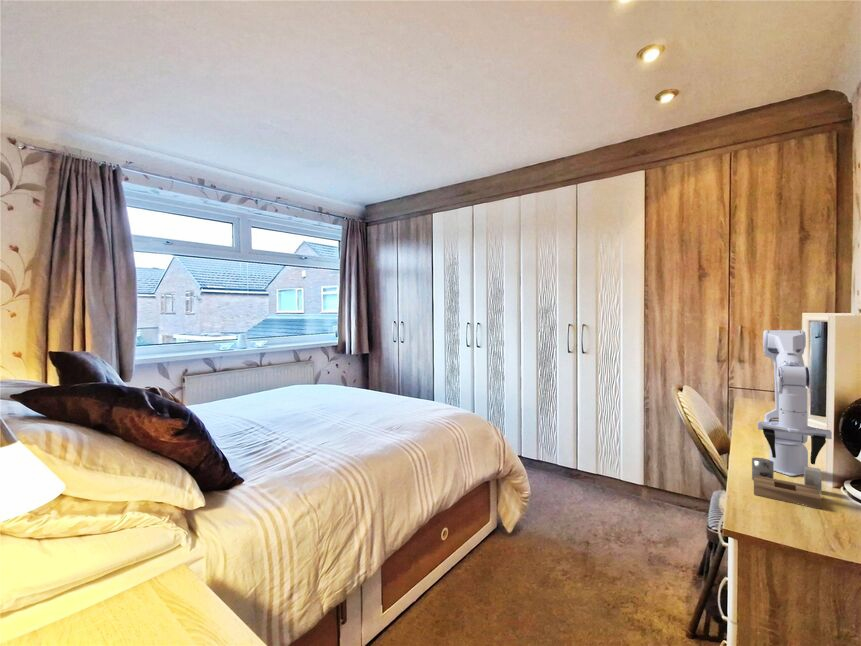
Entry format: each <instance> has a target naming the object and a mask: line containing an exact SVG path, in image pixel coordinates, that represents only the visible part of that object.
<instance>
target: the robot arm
mask: <svg viewBox="0 0 861 646" xmlns="http://www.w3.org/2000/svg"><path fill="white" fill-rule="evenodd" d="M762 333H763V334H762V346H763V354H764V356H765V357H767V358H769V359H771V361H772V363H773V370H774V371H773V375H774V376H773V377H774V380H773V381H774V409H772V410H770V411H768V412H766V413H765V414H764V420H763V421H760V420H758V421H757V430H760V431H762V433H763V436H764V438H765V439H766V441H767V443H768V446H769V460H771V461H773V462H774V472H776V473H779V474H783V475H786V476H789V477H794V476H801V475H804V466H807V467H809V451H808V448H807V447H806V446H805V444H806V443H807V442H808V436H809V437H810V444H811V445H810V446H811V449H810V464H811V465H816V460H817V457H818V455H819V454H820V451H821V450H822V449H823V447H824V446H825V444H826V443H827V440H833V439H832V435H833V433H832V432H833V431H832V430H831V429H823V428H817V427H812V426H808V423H809V422H808V416H809V415H808V412H809V411H808V408H809V407H808V404H809V403H808V399H809V398H808V394H809V393H808V391H809V390H808V389H809V388H810V386H811V381H812V379H811V378H812V377H811V376H812V375H811V371H810V368H809V366H807V365H805V362H804V361H805V360H804V359H803V358H804V357H803V355H804V352H805V349H806V343H807V338H806V337H807V336H806V332H805V331H804V330H803V329H799V330H797V329H796V330H793V329H792V330H787V329H785V330H782V329H781V330H778V329H777V330H776V329H774V330H773V329H772V330H768V329H765V330H764V331H763V332H762ZM826 439H827V440H826Z"/></svg>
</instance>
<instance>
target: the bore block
mask: <svg viewBox="0 0 861 646" xmlns="http://www.w3.org/2000/svg"><path fill="white" fill-rule="evenodd" d="M753 495H754V496H759V497H763V498H766V499H767V498H768V499H773V500H777V501H782V502H786V501H788V502H787V503H790V502H793V503H792V504H795V503H799V504H798V505H800V504H804V505H807V506H806V507H809V506H811V507H810V508H813V507H816V508H815V509H818V508H821V509H820V510H822V509H823V508H822V507H823V506H822V505H823V504H822V503H823V502H822V501H823V500H822V497H821V494H819V491H818V488H817V487H814V486H809V485H804V483H797V482H793V481H787V480H782V479H777V478H774V479H773V478H767V477H762V476H757V475H754V480H753ZM804 505H803V506H804Z"/></svg>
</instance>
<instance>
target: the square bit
mask: <svg viewBox="0 0 861 646" xmlns="http://www.w3.org/2000/svg"><path fill="white" fill-rule="evenodd" d="M822 475H823V474H822V470H821V468H817V467H813V466H808V467H807V466H804V474H803V484H804V485H809V486H814V487H817V488H818V491H819V494H820V495H823V494H822V493H823V492H822V482H823V480H822V479H823V478H822Z"/></svg>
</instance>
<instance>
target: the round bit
mask: <svg viewBox="0 0 861 646" xmlns="http://www.w3.org/2000/svg"><path fill="white" fill-rule="evenodd" d="M774 473H775V471H774V462H773V461H771V460H770V459H767V458H763V457H752V458H751V480H752V481H754V475H757V476H762V477H767V478H773V479H775V478H774V477H775V476H774Z"/></svg>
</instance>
